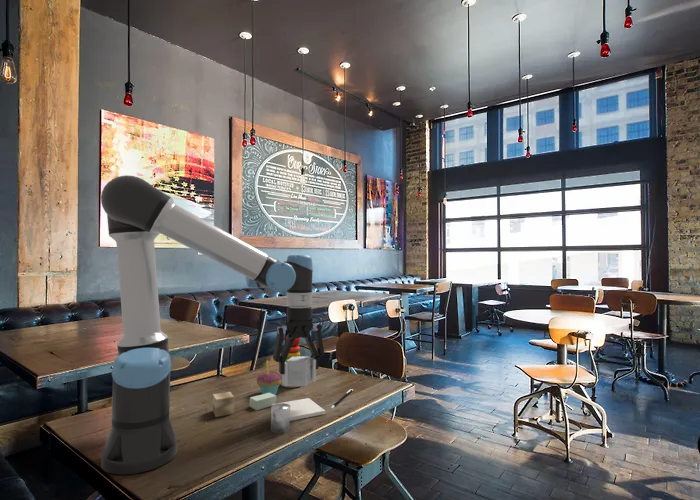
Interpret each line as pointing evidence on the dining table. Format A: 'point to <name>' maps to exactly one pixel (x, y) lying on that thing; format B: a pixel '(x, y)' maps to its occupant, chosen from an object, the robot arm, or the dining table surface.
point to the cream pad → (304, 409)
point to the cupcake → (269, 381)
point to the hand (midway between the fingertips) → (299, 382)
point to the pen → (342, 398)
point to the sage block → (262, 401)
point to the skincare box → (299, 370)
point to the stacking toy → (292, 353)
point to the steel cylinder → (280, 418)
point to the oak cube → (223, 404)
